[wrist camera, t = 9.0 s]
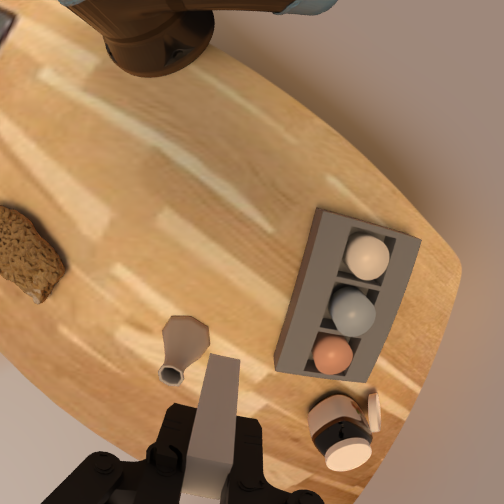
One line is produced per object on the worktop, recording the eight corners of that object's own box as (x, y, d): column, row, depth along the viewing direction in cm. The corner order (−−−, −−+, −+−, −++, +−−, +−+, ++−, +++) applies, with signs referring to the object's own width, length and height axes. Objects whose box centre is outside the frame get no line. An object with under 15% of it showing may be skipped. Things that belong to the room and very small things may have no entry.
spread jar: (298, 409, 47) (307, 460, 35) (351, 367, 45) (373, 415, 33) (340, 436, 48) (353, 482, 37) (388, 400, 47) (412, 444, 35)
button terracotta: (316, 325, 42) (322, 339, 38) (350, 331, 42) (358, 345, 38) (305, 356, 43) (309, 372, 39) (338, 361, 43) (344, 376, 39)
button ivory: (347, 227, 38) (357, 233, 35) (382, 237, 39) (394, 243, 35) (336, 266, 40) (344, 275, 36) (370, 274, 40) (381, 283, 36)
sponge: (79, 253, 42) (-2, 171, 35) (55, 282, 35) (-34, 189, 28) (51, 296, 46) (-21, 225, 39) (31, 325, 40) (-47, 246, 32)
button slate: (335, 282, 39) (343, 294, 35) (370, 290, 39) (381, 302, 35) (323, 319, 40) (329, 333, 36) (357, 325, 40) (367, 339, 36)
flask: (216, 322, 43) (206, 361, 33) (204, 362, 44) (194, 405, 35) (166, 308, 42) (145, 342, 33) (159, 349, 44) (139, 388, 34)
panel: (316, 207, 39) (323, 211, 35) (408, 234, 40) (421, 239, 36) (273, 355, 44) (275, 371, 40) (358, 368, 45) (365, 382, 41)
